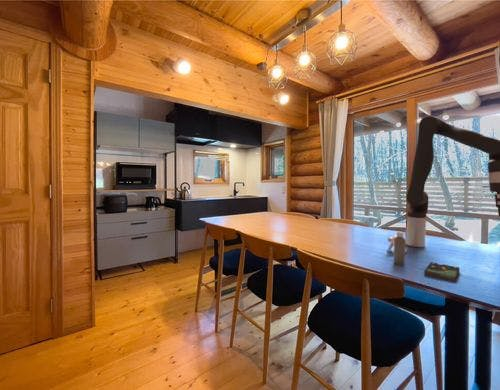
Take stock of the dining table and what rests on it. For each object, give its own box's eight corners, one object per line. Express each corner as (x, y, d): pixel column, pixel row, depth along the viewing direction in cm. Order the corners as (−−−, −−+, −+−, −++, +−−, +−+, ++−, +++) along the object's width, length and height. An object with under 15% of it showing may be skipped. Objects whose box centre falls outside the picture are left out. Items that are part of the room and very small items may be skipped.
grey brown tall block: (392, 264, 116) (393, 232, 115) (394, 262, 120) (395, 231, 119) (403, 266, 113) (404, 233, 112) (405, 264, 117) (406, 232, 116)
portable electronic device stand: (400, 255, 130) (401, 240, 129) (384, 252, 136) (385, 237, 135) (407, 252, 135) (407, 237, 135) (391, 249, 141) (391, 235, 141)
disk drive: (429, 267, 114) (423, 276, 103) (430, 261, 114) (424, 269, 103) (459, 273, 107) (456, 283, 96) (459, 267, 106) (456, 276, 96)
